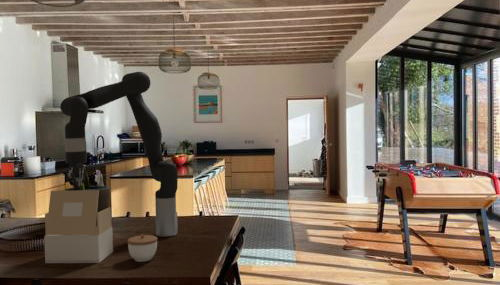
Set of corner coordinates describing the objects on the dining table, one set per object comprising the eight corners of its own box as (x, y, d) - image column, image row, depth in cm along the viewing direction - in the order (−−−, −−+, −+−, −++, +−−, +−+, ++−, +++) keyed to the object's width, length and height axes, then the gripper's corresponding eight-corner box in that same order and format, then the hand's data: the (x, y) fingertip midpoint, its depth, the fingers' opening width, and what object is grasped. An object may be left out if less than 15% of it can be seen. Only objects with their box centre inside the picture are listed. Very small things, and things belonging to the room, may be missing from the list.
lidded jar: (133, 255, 162) (132, 230, 162) (160, 254, 162) (160, 230, 162) (124, 263, 152) (123, 238, 151) (153, 263, 151) (152, 237, 151)
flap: (98, 190, 157) (98, 190, 156) (95, 234, 153) (94, 234, 152) (51, 191, 158) (50, 190, 157) (46, 234, 154) (45, 234, 153)
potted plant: (79, 220, 227) (77, 146, 226) (117, 221, 224) (115, 146, 223) (56, 230, 207) (54, 148, 205) (98, 230, 204) (95, 147, 202)
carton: (113, 251, 168) (112, 206, 167) (99, 262, 153) (97, 213, 153) (64, 251, 169) (62, 206, 168) (45, 263, 154) (43, 214, 154)
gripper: (77, 151, 152) (79, 199, 153) (92, 149, 165) (94, 193, 166) (57, 151, 152) (59, 199, 153) (74, 149, 165) (75, 193, 166)
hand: (77, 195), depth 159 cm, fingers closed
